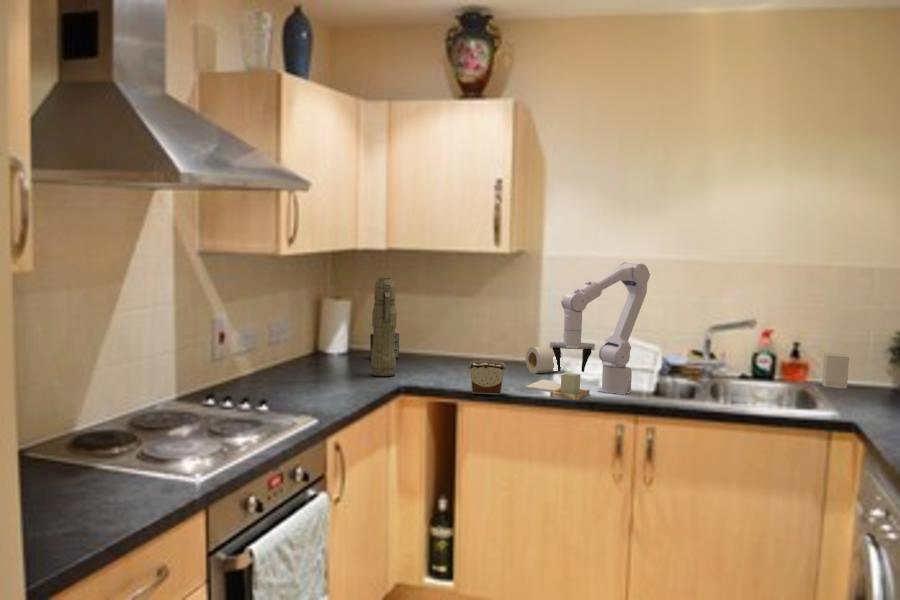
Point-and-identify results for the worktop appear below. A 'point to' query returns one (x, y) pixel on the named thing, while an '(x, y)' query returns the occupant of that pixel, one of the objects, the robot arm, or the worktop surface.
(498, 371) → the food container
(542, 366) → the toilet paper
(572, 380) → the green block
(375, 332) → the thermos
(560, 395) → the wooden square frame
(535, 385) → the beige mat
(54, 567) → the worktop surface
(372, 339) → the small box
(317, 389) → the worktop surface
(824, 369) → the supplement box
